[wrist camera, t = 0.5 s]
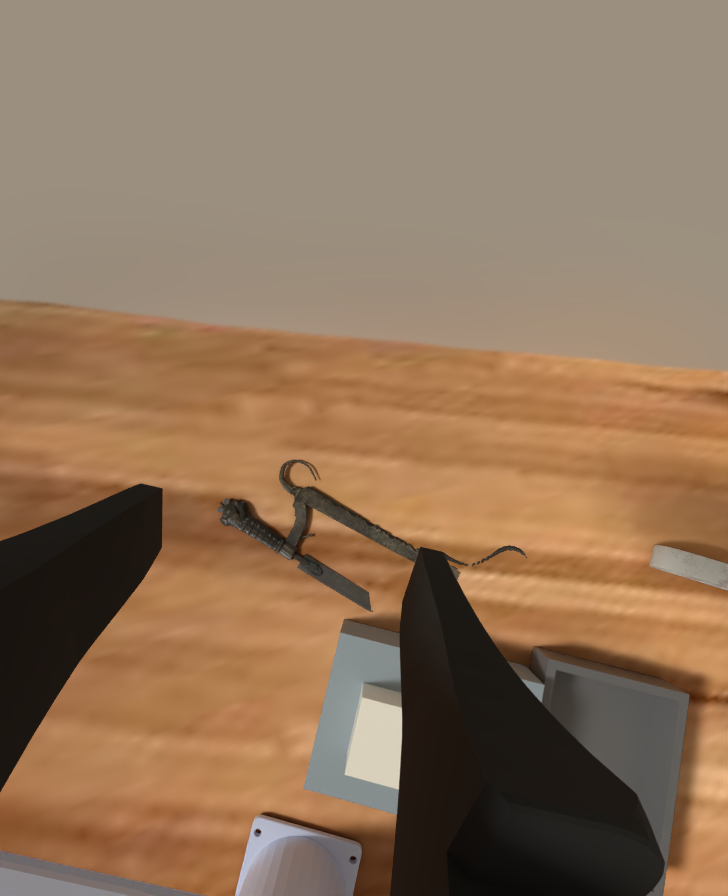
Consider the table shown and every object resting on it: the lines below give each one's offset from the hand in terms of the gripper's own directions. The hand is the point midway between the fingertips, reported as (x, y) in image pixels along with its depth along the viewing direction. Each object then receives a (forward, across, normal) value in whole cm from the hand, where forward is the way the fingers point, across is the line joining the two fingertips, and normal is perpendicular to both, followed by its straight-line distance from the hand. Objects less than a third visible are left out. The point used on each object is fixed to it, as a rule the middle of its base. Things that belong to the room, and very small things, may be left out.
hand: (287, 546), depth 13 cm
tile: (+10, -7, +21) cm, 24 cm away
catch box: (+12, -22, +23) cm, 34 cm away
